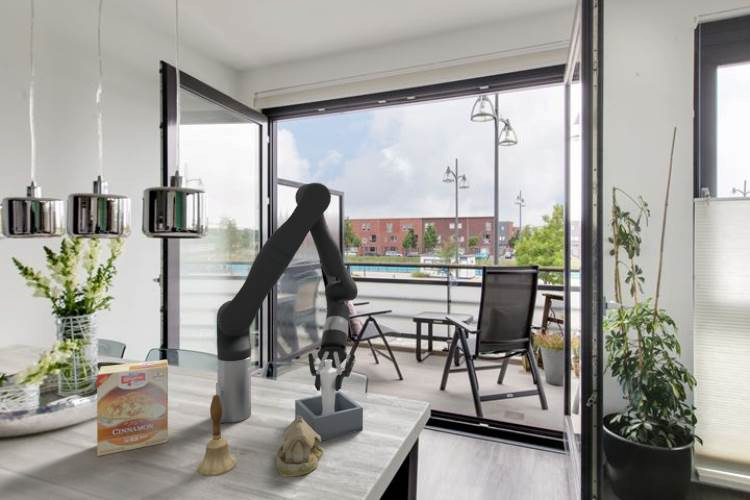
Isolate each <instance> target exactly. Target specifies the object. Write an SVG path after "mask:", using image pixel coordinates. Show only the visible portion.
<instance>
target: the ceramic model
mask: <svg viewBox="0 0 750 500" xmlns="http://www.w3.org/2000/svg"><path fill="white" fill-rule="evenodd" d="M321 442H322V441H321V437H320V435H318V434H317V433H316V432H315V431H314V430H313V429H312V428H311V427H310V426H309V425H308V424H307V423H306V422H305V421H304V420H303V419H302V416H297V417H296V418H295V417H294V419H293V421H292V422H291V423H290V424H289V425H288V427H287V428H286V430H285V432H284V434H283V443H282V444H281V446H280V447H279V448H278V449H277V452H276V453H275V463H276V469H277V471H278V473H279V474H280V475H282V476H284V477H297V476H302V475H306V474H309V473H311V472H312V471H313V470H315V469H316V468H317V466H318V461H319V460H320V459H321V457H322V455H323V454H324V451H325V449H324V448H323V446H320V443H321Z"/></svg>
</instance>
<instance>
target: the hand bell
mask: <svg viewBox="0 0 750 500" xmlns="http://www.w3.org/2000/svg"><path fill="white" fill-rule="evenodd" d="M209 411H210V412H209V413H210V419H211V421H212V438H211V440H209V441H208V442H207V443H206V447H205V454H204V457H203V459H202V460H201V461H200V462H199V464H198V466H197V471H198V473H199V475H202V476H208V477H212V476H214V477H215V476H219V475H223V474H225V473H227V472H229V471H231V470H232V469H233V470H234V468H235V467H236V465H237V462H238V461H237V458H236V457H235V456H234V455H232V453H231V452H230V448H229V443H228V442H229V441H228V439H226V438H224V437H222V433H221V430H222V429H221V423H220V421H221V417H222V403H221V400H220V397H219V395H216V394H214V395H213V396H212V399H211V402H210V408H209Z"/></svg>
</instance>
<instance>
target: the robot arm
mask: <svg viewBox="0 0 750 500" xmlns="http://www.w3.org/2000/svg"><path fill="white" fill-rule="evenodd" d="M330 190H331V189H329V187H328V186H327V185H326V184H324V183H321V182H311V183H305V184H302V185H301V186H299V187H298V189H297V190H296V192H295V197H294V198H295V204H296V206H295V208H294V210H293V212H292V213H291V215H290V216H289V217H288V218H287V219H286V221H284V223H282V224H281V225H280V226H279V227H278V228H277V229H276V230H275V231H274V232H273V233H272V234H271V235H270V237H268V239H267V240H266V241H265V243H264V244H263V245H262V247H261V249H260V250H259V251H258V254H257V256H256V257H255V258H254V260H253V262H252V265H251V267H250V268H249V269H250V270H249V272H248V274H247V277H246V279H245V281H244V282H243V284H242V286H241V288H240V289H239V290H238V292H237V293H236V294H235V296H234V297H232V299H231V300H228V301H226V302H224V303H223V304H221V306H220V307H219V309H218V310H217V314H216V351H217V353H216V355H217V368H216V369H217V373H216V374H217V375H216V376H217V382H216V383H215V395H219V397H220V400H221V403H222V417H221V421H220V424H221V423H235V422H236V423H238V422H241V421H245V420H246V419H248V418H249V417H251V415H252V345H251V336H250V335H251V333H250V332H251V331H250V330H251V327H252V324H253V322H254V320H255V318H256V316H257V314H258V312H259V311H260V309H261V307H262V305H263V303H264V301H265V299H266V298H267V296H268V295H269V294H270V292H271V291H272V290H273V288H274V287H275V286H276V284H277V282H278V281H279V280H280V278H281V277H282V276H283V274H284V273H285V271H286V270H287V269H288V267H289V265H290V264H291V262H292V261H293V259H294V258H295V255H296V254H297V252H298V250H300V248H301V246H302V245H303V243H304V241H305V240H306V238H307V235H308V234H309V232H310V235H311V237H312V240H313V243H314V246H315V249H316V251H317V255H318V257H319V258H318V259H319V262H320V265H321V269H322V270H323V273H324V275H325V276H326V277H330V278H337V279H338V280H336V281H331V282H329V283H328V284H326V286H325V288H324V297H325V300H326V310H327V311H326V317H325V321H324V324H323V329H322V335H321V341H320V347H319V351H317V353H312V352H310V353H308V356H307V357H308V364H309V372H310V374H311V376H312V377H315V379H314V387H315V389H316V391H318V392H320V391H321V380H320V371H321V370H322V369H323V368H325V360H326V359H331V360H332V367H333V368H334V369H336V371H337V374H336V384H335V392H339V391H340V390H342V384H343V379H344V378H345V377H346V378H349V377H350V375H351V372H352V370H353V369H354V365H355V363H356V355H355V354H353V353H352V354H348V353H347V344H348V338H349V321H350V307H349V305H348V304H346V303H344V302H350V301H351V302H352V301H353V300H355V299H356V298H357V296H358V292H359V289H358V286H357V284H356V281H355V279H353V277H352V276H351V274H350V273H349V271H348V269H347V268H346V265H345V263H344V259H343V256H342V253H341V249H340V247H339V244H338V243H337V241H336V238H335V237H334V235H333V233H332V232H331V230H330V228H329V226H328V224H327V220H326V217H325V214H324V213H325V212H326V210H328V208H329V206H330V205H331V199H332V194H331V191H330ZM317 359H319V364H318V368H317V369H316V366H315V363H317ZM344 361H347V363H346V366H345V368H344V370H342V366H341V365H342V364H343V363H344Z"/></svg>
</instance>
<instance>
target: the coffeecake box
mask: <svg viewBox="0 0 750 500" xmlns="http://www.w3.org/2000/svg"><path fill="white" fill-rule="evenodd" d="M168 362H169V361H168V359H161V360H152V361H150V360H149V361H142V362H132V363H131V362H130V363H123V364H114V365H107V366H106V365H103V366H100V368H99V371H97V374H96V425H97V426H96V427H97V428H96V432H97V433H96V437H97V438H96V440H97V441H96V443H97V444H96V451H97V452H96V453H97V457H100V456H104V455H106V456H107V455H109V454H115V453H120V452H125V451H130V450H135V449H140V448H145V447H151V446H156V445H160V444H165V443H168V438H169V437H168V433H169V432H168V431H169V430H168V429H169V425H168V424H169V423H168V422H169V421H168V420H169V416H168V415H169V404H168V403H169V386H168V385H169V370H168V369H169V367H168V366H169V364H168Z"/></svg>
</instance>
